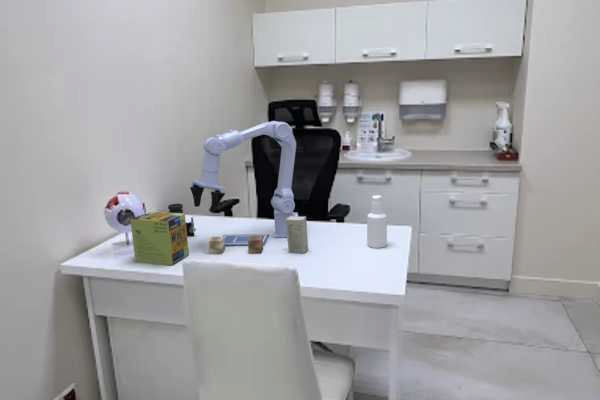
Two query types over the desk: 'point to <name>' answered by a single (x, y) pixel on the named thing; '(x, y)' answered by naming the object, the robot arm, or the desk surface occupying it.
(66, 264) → the desk surface
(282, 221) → the robot arm
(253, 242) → the walnut block
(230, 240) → the board
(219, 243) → the maple block
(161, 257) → the protein box
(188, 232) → the scope
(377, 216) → the spray bottle
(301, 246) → the skincare box
